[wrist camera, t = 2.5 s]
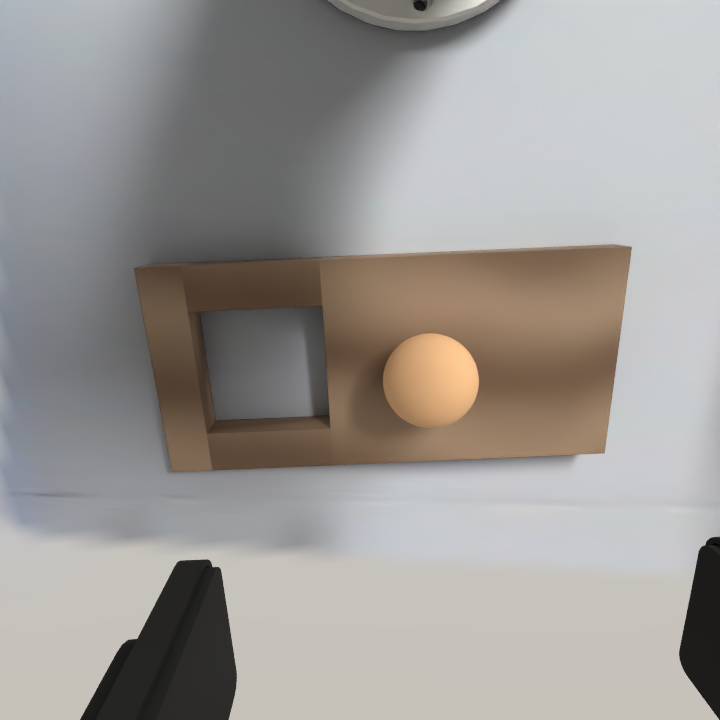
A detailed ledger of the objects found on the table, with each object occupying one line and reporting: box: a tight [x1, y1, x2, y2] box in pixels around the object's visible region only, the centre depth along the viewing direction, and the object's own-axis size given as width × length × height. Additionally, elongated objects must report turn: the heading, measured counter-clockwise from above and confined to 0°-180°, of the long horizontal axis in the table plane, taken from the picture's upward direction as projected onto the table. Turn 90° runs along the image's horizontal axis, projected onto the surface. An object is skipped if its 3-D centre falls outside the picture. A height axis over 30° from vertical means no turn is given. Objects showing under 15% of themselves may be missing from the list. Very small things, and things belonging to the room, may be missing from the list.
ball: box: [383, 333, 479, 428], centre depth 20 cm, size 4×4×4 cm
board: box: [134, 245, 632, 472], centre depth 22 cm, size 10×22×2 cm, turn 92°
